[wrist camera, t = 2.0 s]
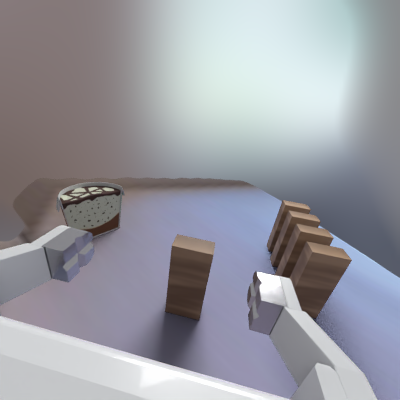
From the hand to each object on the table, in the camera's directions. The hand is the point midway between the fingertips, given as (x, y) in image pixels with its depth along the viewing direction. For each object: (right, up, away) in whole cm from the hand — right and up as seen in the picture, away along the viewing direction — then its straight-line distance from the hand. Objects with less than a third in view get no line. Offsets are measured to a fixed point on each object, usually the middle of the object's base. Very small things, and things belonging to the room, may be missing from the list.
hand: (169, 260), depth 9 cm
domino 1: (-1, -13, +19) cm, 23 cm away
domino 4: (+18, -13, +27) cm, 35 cm away
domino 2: (+20, -9, +36) cm, 42 cm away
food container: (-22, -4, +33) cm, 40 cm away
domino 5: (+17, -15, +22) cm, 32 cm away
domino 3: (+19, -11, +31) cm, 38 cm away
